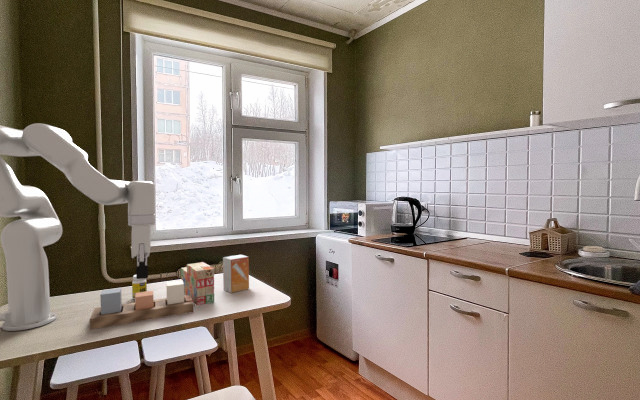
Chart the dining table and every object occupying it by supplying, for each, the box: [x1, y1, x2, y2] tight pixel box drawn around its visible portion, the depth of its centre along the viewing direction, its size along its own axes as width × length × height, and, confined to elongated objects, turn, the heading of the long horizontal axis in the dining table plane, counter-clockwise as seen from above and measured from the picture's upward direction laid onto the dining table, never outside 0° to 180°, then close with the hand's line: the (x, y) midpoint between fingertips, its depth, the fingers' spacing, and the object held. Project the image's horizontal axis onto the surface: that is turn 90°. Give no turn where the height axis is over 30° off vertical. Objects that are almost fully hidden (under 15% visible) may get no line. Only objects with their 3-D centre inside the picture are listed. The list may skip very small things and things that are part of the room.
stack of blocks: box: [180, 261, 215, 306], centre depth 127 cm, size 21×6×12 cm, turn 35°
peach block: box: [134, 290, 154, 310], centre depth 108 cm, size 5×5×6 cm
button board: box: [89, 294, 194, 330], centre depth 108 cm, size 28×10×3 cm, turn 116°
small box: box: [222, 254, 250, 293], centre depth 134 cm, size 8×6×13 cm
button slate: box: [99, 287, 123, 315], centre depth 104 cm, size 5×5×6 cm
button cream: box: [165, 279, 185, 305], centre depth 112 cm, size 5×5×6 cm
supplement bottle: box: [131, 274, 148, 300], centre depth 126 cm, size 5×5×8 cm
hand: (142, 277), depth 108 cm, fingers closed
